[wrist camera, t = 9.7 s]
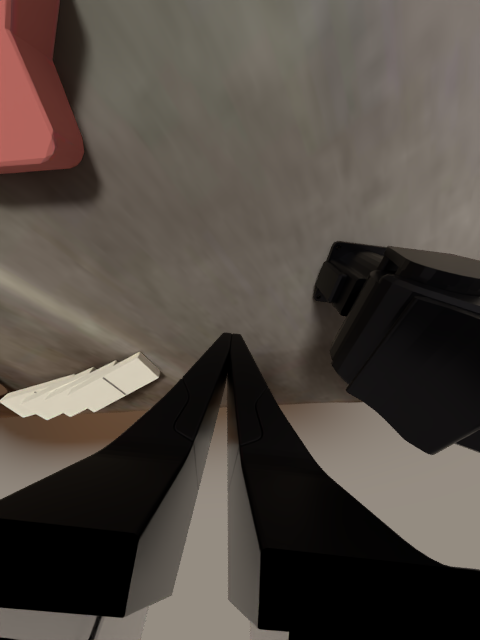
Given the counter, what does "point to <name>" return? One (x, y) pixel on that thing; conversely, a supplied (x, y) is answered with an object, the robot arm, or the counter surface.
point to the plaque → (33, 92)
